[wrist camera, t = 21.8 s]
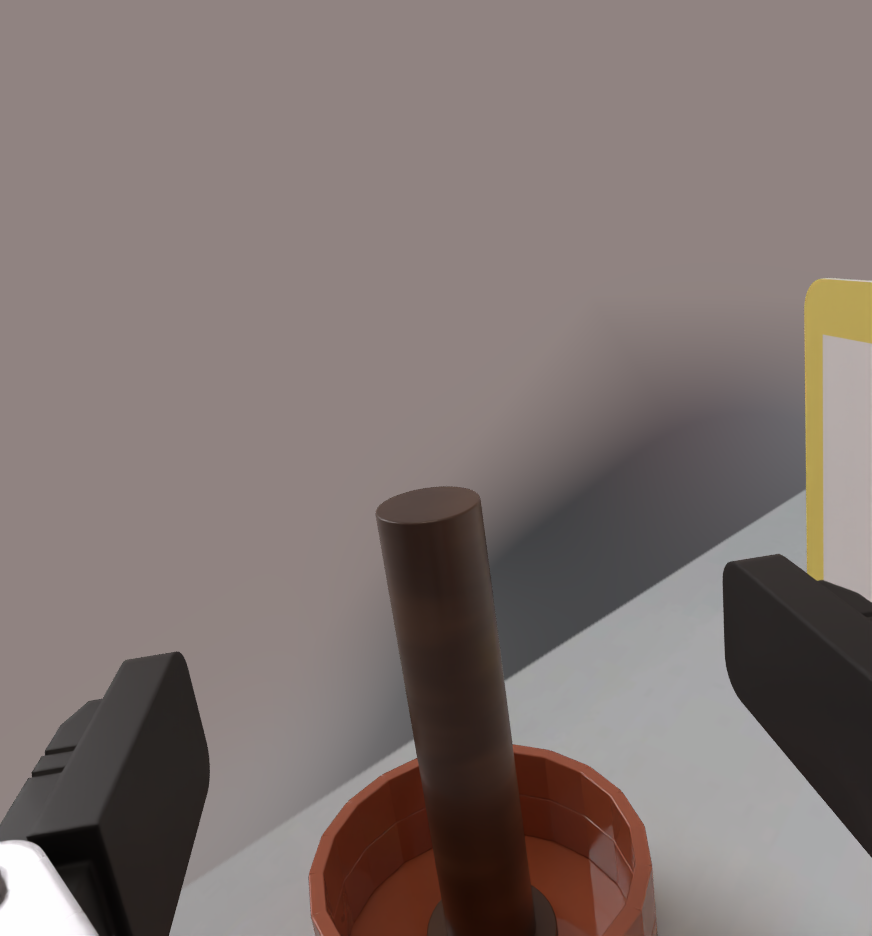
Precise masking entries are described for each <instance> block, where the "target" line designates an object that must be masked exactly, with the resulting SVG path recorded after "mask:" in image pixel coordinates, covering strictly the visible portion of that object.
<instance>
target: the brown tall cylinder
mask: <svg viewBox="0 0 872 936" xmlns="http://www.w3.org/2000/svg"><path fill="white" fill-rule="evenodd" d="M376 520H377V526H378V532H379V537H380V543H381V549H382V555H383V560H384V566H385V572H386V578H387V584H388V590H389V595H390V602H391V607H392V613H393V619H394V625H395V631H396V637H397V642H398V648H399V654H400V660H401V665H402V671H403V677H404V683H405V689H406V695H407V701H408V707H409V712H410V718H411V724H412V730H413V736H414V742H415V747H416V753H417V759H418V765H419V771H420V777H421V782H422V788H423V794H424V800H425V806H426V812H427V817H428V823H429V829H430V835H431V841H432V847H433V852H434V858H435V864H436V870H437V876H438V882H439V887H440V893H441V900H440V901H439V903H438V904H437V905H436V907H435V909H434V910H433V912H432V915H431V917H430V920H429V923H428V929H427V936H558V927H557V920H556V916H555V913H554V910H553V908H552V906H551V904H550V902H549V901H548V900H547V898H546V897H545V896H544V895H543V894H542V893H541V892H540V891H539V890H538V889H537V888H535V887H534V886H532V885H531V882H530V874H529V866H528V859H527V851H526V843H525V836H524V828H523V821H522V813H521V805H520V798H519V790H518V782H517V775H516V767H515V759H514V752H513V744H512V736H511V729H510V721H509V714H508V706H507V698H506V691H505V683H504V676H503V668H502V661H501V653H500V645H499V637H498V630H497V622H496V614H495V607H494V599H493V591H492V584H491V576H490V568H489V561H488V553H487V545H486V538H485V530H484V523H483V515H482V507H481V500H480V496H479V495H478V494H477V493H476V492H475V491H473V490H470V489H466V488H461V487H431V488H423V489H418V490H413V491H409V492H406V493H403V494H400V495H397V496H394V497H392V498H390V499H388V500H386V501H385V502H383V503H382V504H381V505H379V507H378V508H377V510H376Z"/></svg>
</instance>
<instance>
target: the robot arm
mask: <svg viewBox="0 0 872 936" xmlns="http://www.w3.org/2000/svg"><path fill="white" fill-rule="evenodd" d="M723 608H724V642H725V661H726V667H727V672H728V675H729V679H730V682H731V684H732V687H733V689H734V691H735V693H736V695H737V696H738V698H739V699H740V700H741V702H742V703H743V704H744V705H745V707H746V708H747V709H748V710H749V711H750V712H751V714H752V715H753V716H754V717H755V718H756V720H757V721H758V722H759V723H760V724H761V726H762V727H763V728H764V729H765V730H766V732H767V733H768V734H769V735H770V736H771V738H772V739H773V740H774V741H775V742H776V744H777V745H778V746H779V747H780V748H781V750H782V751H783V752H784V753H785V754H786V756H787V757H788V758H789V759H790V760H791V762H792V763H793V764H794V765H795V766H796V768H797V769H798V770H799V771H800V772H801V774H802V775H803V776H804V777H805V778H806V780H807V781H808V782H809V783H810V784H811V786H812V787H813V788H814V789H815V790H816V791H817V793H818V794H819V795H820V796H821V797H822V799H823V800H824V801H825V802H826V803H827V805H828V806H829V807H830V808H831V809H832V811H833V812H834V813H835V814H836V815H837V817H838V818H839V819H840V820H841V821H842V823H843V824H844V825H845V826H846V827H847V829H848V830H849V831H850V832H851V833H852V835H853V836H854V837H855V838H856V839H857V841H858V842H859V843H860V844H861V845H862V847H863V848H864V849H865V850H866V851H867V853H868V854H869V855H870V856H871V857H872V602H870V601H869V600H867V599H866V598H865V597H863V596H862V595H860V594H859V593H857V592H854V591H852V590H849V589H846V588H843V587H841V586H838V585H835V584H832V583H830V582H827V581H824V580H819V581H817V580H815V579H814V578H813V577H811V576H810V575H809V574H807V573H806V572H805V571H803V570H802V569H800V568H799V567H798V566H796V565H795V564H794V563H792V562H791V561H790V560H788V559H787V558H786V557H784V556H782V555H780V554H775V555H769V556H763V557H756V558H750V559H744V560H738V561H732V562H729V563H727V564H726V566H725V568H724V572H723ZM209 765H210V764H209V753H208V747H207V742H206V738H205V734H204V730H203V726H202V722H201V718H200V714H199V711H198V706H197V702H196V698H195V695H194V691H193V686H192V683H191V679H190V675H189V670H188V667H187V664H186V661H185V659H184V657H183V655H182V654H181V653H180V652H172V653H166V654H159V655H153V656H147V657H141V658H135V659H129V660H125V661H124V662H123V663H122V665H121V667H120V668H119V670H118V672H117V674H116V676H115V678H114V679H113V681H112V683H111V685H110V686H109V688H108V690H107V692H106V694H105V695H104V697H103V699H99V700H93V701H88V702H87V703H86V704H85V705H84V706H83V707H81V708H80V709H79V710H78V711H77V712H76V713H75V714H73V715H72V716H71V717H70V718H69V719H67V720H66V721H65V722H64V723H63V724H62V725H61V726H60V727H59V729H58V730H57V732H56V734H55V735H54V737H53V739H52V740H51V742H50V744H49V745H48V747H47V748H46V750H45V756H42V757H41V758H40V760H39V762H38V763H37V765H36V767H35V768H34V770H33V771H32V778H28V779H27V781H26V783H25V784H24V786H23V788H22V789H21V791H20V793H19V794H18V796H17V797H16V799H15V801H14V802H13V804H12V806H11V807H10V809H9V811H8V812H7V814H6V816H5V817H4V819H3V820H2V822H1V824H0V936H169V933H170V929H171V925H172V922H173V918H174V914H175V911H176V907H177V903H178V900H179V896H180V892H181V888H182V885H183V881H184V877H185V874H186V870H187V866H188V862H189V859H190V855H191V851H192V848H193V844H194V840H195V837H196V833H197V829H198V826H199V822H200V818H201V814H202V811H203V807H204V803H205V799H206V795H207V792H208V787H209V778H210V777H209V776H210V766H209Z"/></svg>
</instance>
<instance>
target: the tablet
mask: <svg viewBox="0 0 872 936" xmlns="http://www.w3.org/2000/svg"><path fill="white" fill-rule="evenodd" d="M804 315H805V413H806V414H805V415H806V513H807V574H809V575H810V576H811V577H813V578H814V579H815V580H817V581H819V580H824V581H827V582H830V583H832V584H835V585H838V586H841V587H843V588H846V589H849V590H852V591H854V592H857V593H859V594H860V595H862V596H863V597H865V598H866V599H867V600H869V601H870V602H872V281H867V280H852V279H838V278H824V279H818V280H816V281H815V282H814V283H812V285H811V286H810V287H809V289H808V292H807V294H806V298H805V312H804Z"/></svg>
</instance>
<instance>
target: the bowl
mask: <svg viewBox="0 0 872 936" xmlns="http://www.w3.org/2000/svg"><path fill="white" fill-rule="evenodd" d="M513 752H514V759H515V767H516V775H517V782H518V790H519V798H520V805H521V813H522V821H523V828H524V836H525V843H526V851H527V859H528V866H529V874H530V882H531V885H532V886H534V887H535V888H537V889H538V890H539V891H540V892H541V893H542V894H543V895H544V896H545V897H546V898H547V900H548V901H549V902H550V904H551V906H552V908H553V910H554V913H555V916H556V920H557V927H558V936H658V935H657V922H656V909H655V896H654V883H653V870H652V862H651V857H650V851H649V846H648V841H647V836H646V830H645V826H644V824H643V823H642V821H641V820H640V818H639V817H638V815H637V813H636V812H635V810H634V809H633V807H632V806H631V804H630V803H629V801H628V800H627V798H626V797H625V795H624V794H623V792H621V790H620V789H618V788H617V787H616V786H615V785H613V784H612V783H611V782H609V781H608V780H607V779H605V778H604V777H603V776H602V775H600V774H599V773H598V772H596V771H595V770H594V769H592V768H591V767H589V766H588V765H585V764H583V763H581V762H578V761H576V760H573V759H571V758H568V757H566V756H563V755H561V754H558V753H556V752H553V751H550V750H546V749H539V748H533V747H527V746H520V745H514V744H513ZM309 894H310V911H311V919H312V923H313V928H314V932H315V936H427V929H428V923H429V920H430V917H431V915H432V912H433V910H434V909H435V907H436V905H437V904H438V903H439V901H440V900H441V893H440V887H439V882H438V876H437V870H436V864H435V858H434V852H433V847H432V841H431V835H430V829H429V823H428V817H427V812H426V806H425V800H424V794H423V788H422V782H421V777H420V771H419V765H418V759H417V758H416V759H414V760H412V761H410V762H407V763H405V764H403V765H401V766H399V767H397V768H395V769H393V770H391V771H389V772H386V773H384V774H382V776H379V777H378V778H377V779H376V780H374V781H373V782H372V783H370V784H369V785H368V786H367V787H365V788H364V789H363V790H362V791H360V792H359V793H358V794H356V795H355V796H354V797H353V798H351V799H350V800H349V801H348V802H347V803H346V804H345V805H344V807H343V808H342V809H341V811H340V812H339V813H338V815H337V816H336V817H335V819H334V820H333V821H332V823H331V824H330V825H329V827H328V828H327V829H326V831H325V832H324V833H323V835H322V837H321V840H320V843H319V845H318V848H317V851H316V854H315V857H314V860H313V863H312V866H311V869H310V872H309Z"/></svg>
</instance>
